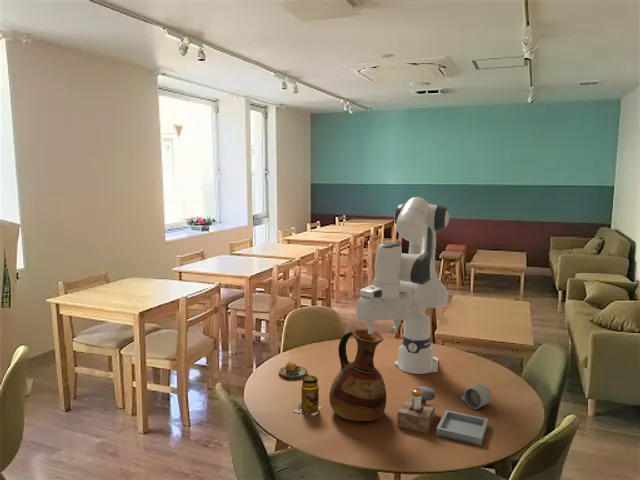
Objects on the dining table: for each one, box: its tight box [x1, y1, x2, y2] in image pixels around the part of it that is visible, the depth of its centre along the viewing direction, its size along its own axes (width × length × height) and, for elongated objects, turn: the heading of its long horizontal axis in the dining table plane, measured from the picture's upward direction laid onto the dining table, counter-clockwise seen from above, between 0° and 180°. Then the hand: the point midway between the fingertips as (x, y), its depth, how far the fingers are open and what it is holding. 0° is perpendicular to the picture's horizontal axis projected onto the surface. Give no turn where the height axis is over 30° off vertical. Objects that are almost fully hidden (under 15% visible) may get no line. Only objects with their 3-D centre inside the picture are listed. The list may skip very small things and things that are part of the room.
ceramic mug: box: [460, 384, 493, 410], centre depth 182 cm, size 10×8×7 cm
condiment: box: [293, 375, 323, 417], centre depth 176 cm, size 7×8×12 cm
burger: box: [278, 360, 308, 381], centre depth 208 cm, size 12×12×8 cm
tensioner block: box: [396, 385, 436, 434], centre depth 171 cm, size 18×10×8 cm, turn 154°
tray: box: [435, 409, 489, 447], centre depth 163 cm, size 14×14×2 cm
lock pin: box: [411, 387, 423, 413], centre depth 167 cm, size 4×4×12 cm
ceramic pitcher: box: [328, 328, 388, 422], centre depth 172 cm, size 20×20×30 cm
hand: (382, 333), depth 164 cm, fingers open, 8 cm apart
